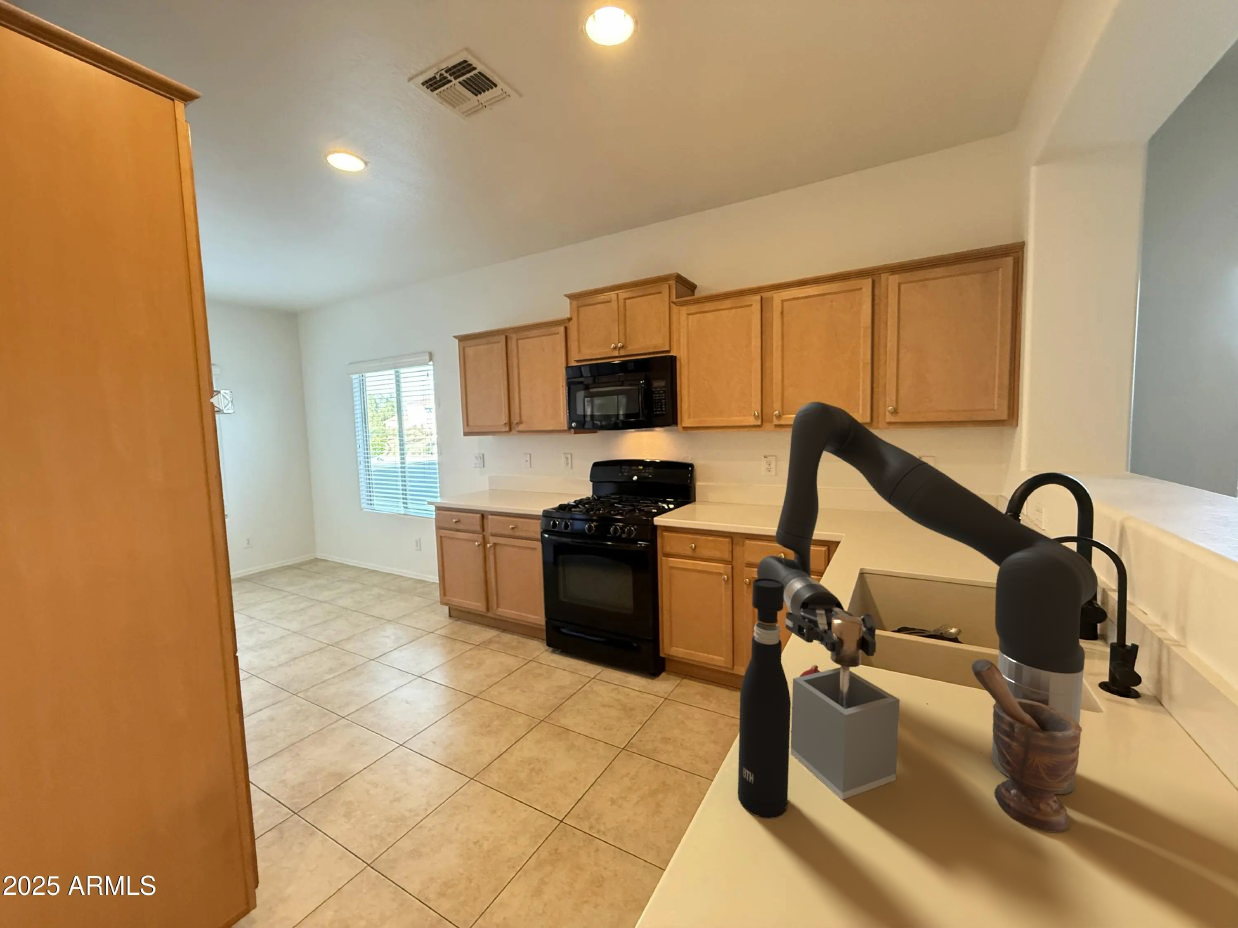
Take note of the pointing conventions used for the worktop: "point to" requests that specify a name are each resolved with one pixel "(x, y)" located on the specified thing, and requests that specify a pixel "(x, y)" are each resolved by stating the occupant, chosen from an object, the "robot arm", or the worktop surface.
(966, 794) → the worktop surface
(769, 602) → the black water bottle
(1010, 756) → the mortar and pestle
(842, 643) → the plunger
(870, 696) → the grey open box
